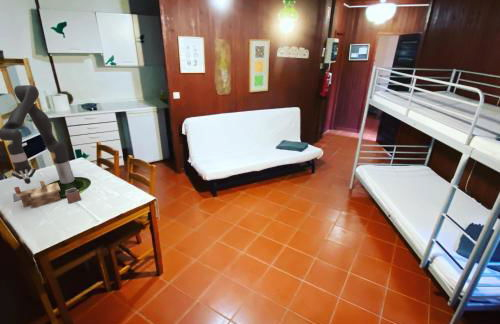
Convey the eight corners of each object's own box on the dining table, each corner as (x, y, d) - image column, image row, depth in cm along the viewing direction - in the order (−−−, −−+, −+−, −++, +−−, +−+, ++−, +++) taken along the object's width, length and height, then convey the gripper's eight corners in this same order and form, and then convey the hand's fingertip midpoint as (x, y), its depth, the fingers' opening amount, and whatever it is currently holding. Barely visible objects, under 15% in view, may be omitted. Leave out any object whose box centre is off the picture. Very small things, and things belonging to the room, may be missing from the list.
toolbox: (58, 192, 189) (55, 182, 186) (61, 199, 181) (57, 189, 178) (23, 202, 177) (19, 192, 174) (24, 210, 169) (20, 199, 166)
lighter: (80, 197, 184) (77, 185, 180) (82, 199, 182) (78, 187, 178) (67, 202, 179) (63, 189, 175) (68, 204, 177) (64, 191, 173)
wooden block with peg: (32, 191, 174) (29, 183, 172) (32, 193, 173) (29, 185, 170) (16, 195, 169) (13, 187, 167) (16, 197, 168) (13, 189, 165)
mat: (44, 186, 196) (44, 186, 196) (46, 193, 188) (45, 192, 188) (13, 194, 186) (13, 193, 185) (13, 201, 178) (13, 201, 177)
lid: (57, 183, 187) (55, 176, 184) (60, 190, 179) (58, 182, 177) (29, 191, 177) (26, 183, 175) (31, 198, 169) (28, 190, 167)
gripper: (32, 155, 170) (40, 178, 177) (5, 160, 162) (15, 184, 169) (33, 158, 165) (41, 182, 172) (5, 164, 157) (15, 188, 164)
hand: (28, 183), depth 170 cm, fingers closed
